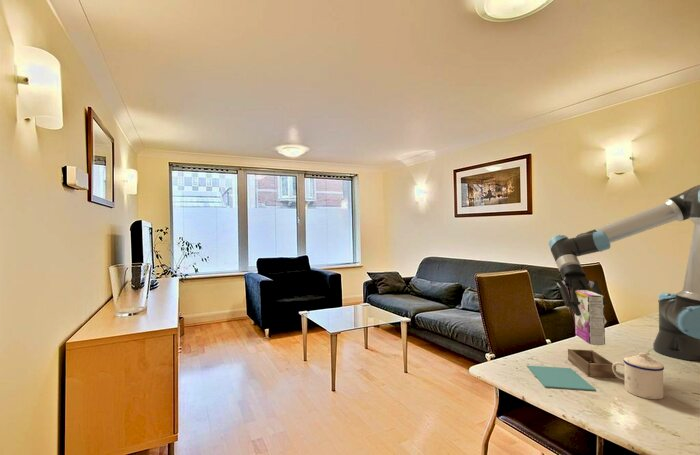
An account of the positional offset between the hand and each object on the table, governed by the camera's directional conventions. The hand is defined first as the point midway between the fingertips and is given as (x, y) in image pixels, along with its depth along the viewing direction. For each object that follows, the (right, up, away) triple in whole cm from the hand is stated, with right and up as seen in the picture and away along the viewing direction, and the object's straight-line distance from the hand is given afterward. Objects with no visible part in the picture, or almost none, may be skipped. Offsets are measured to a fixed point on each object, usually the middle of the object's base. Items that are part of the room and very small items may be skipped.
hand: (594, 323), depth 115 cm
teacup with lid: (+3, -16, -13) cm, 21 cm away
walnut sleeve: (+1, -16, +3) cm, 17 cm away
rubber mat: (-15, -16, -4) cm, 22 cm away
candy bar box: (+1, -7, +4) cm, 8 cm away
